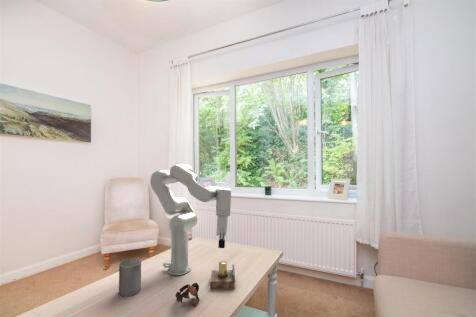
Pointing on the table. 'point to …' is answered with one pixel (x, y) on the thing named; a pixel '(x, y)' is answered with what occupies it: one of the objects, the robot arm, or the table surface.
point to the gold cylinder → (222, 269)
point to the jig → (223, 280)
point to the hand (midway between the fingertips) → (221, 247)
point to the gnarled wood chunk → (192, 289)
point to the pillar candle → (129, 277)
